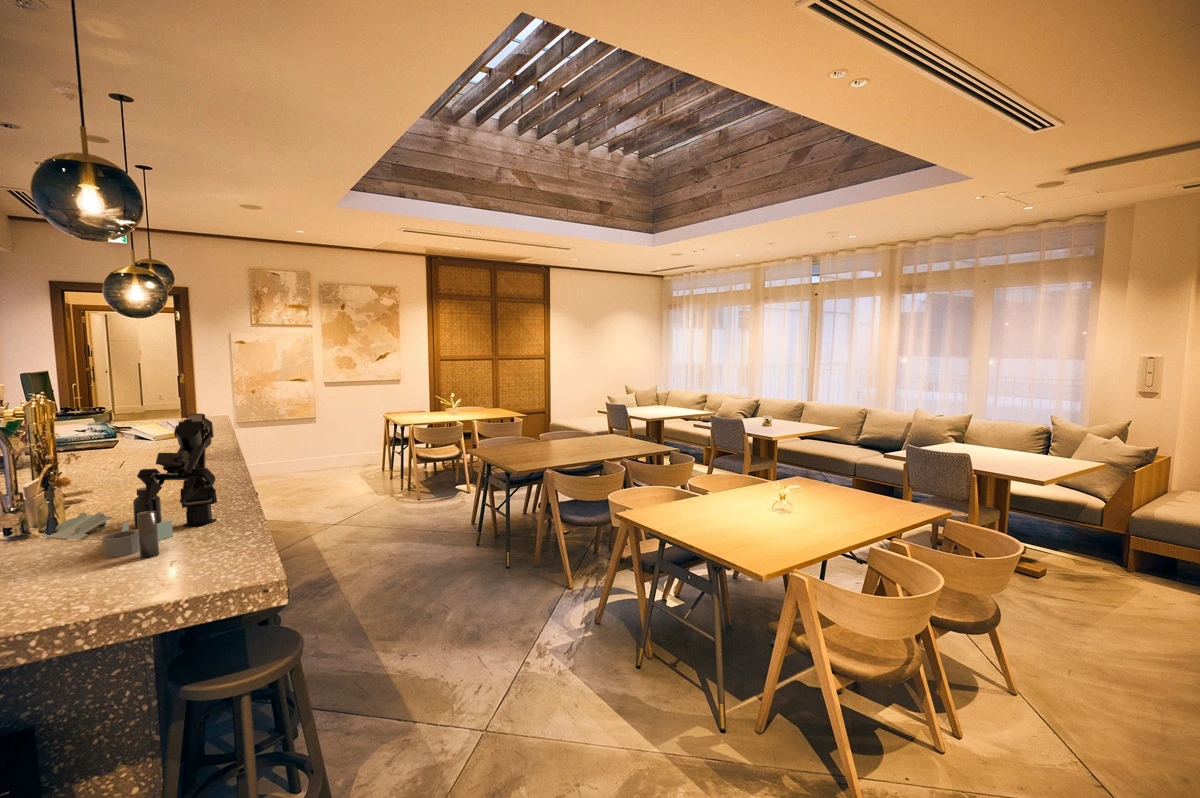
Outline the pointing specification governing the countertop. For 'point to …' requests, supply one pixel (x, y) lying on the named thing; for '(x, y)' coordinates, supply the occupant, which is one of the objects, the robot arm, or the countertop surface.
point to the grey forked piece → (130, 539)
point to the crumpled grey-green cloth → (78, 526)
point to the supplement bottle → (146, 505)
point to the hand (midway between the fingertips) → (164, 502)
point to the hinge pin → (148, 534)
